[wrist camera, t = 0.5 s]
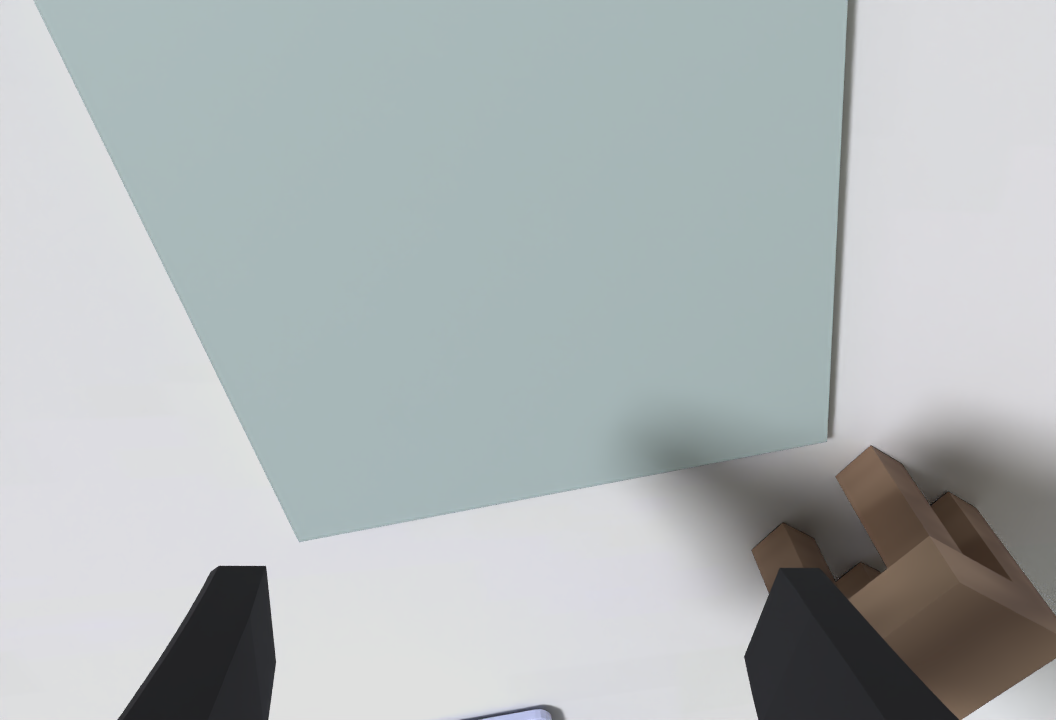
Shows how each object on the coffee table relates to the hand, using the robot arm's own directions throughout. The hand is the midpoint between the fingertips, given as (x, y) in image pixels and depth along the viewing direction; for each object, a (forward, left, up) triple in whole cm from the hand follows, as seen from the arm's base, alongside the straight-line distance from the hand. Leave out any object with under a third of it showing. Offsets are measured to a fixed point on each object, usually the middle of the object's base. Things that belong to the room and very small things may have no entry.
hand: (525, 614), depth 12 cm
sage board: (+1, -1, -10) cm, 10 cm away
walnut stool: (-11, -10, -10) cm, 18 cm away
